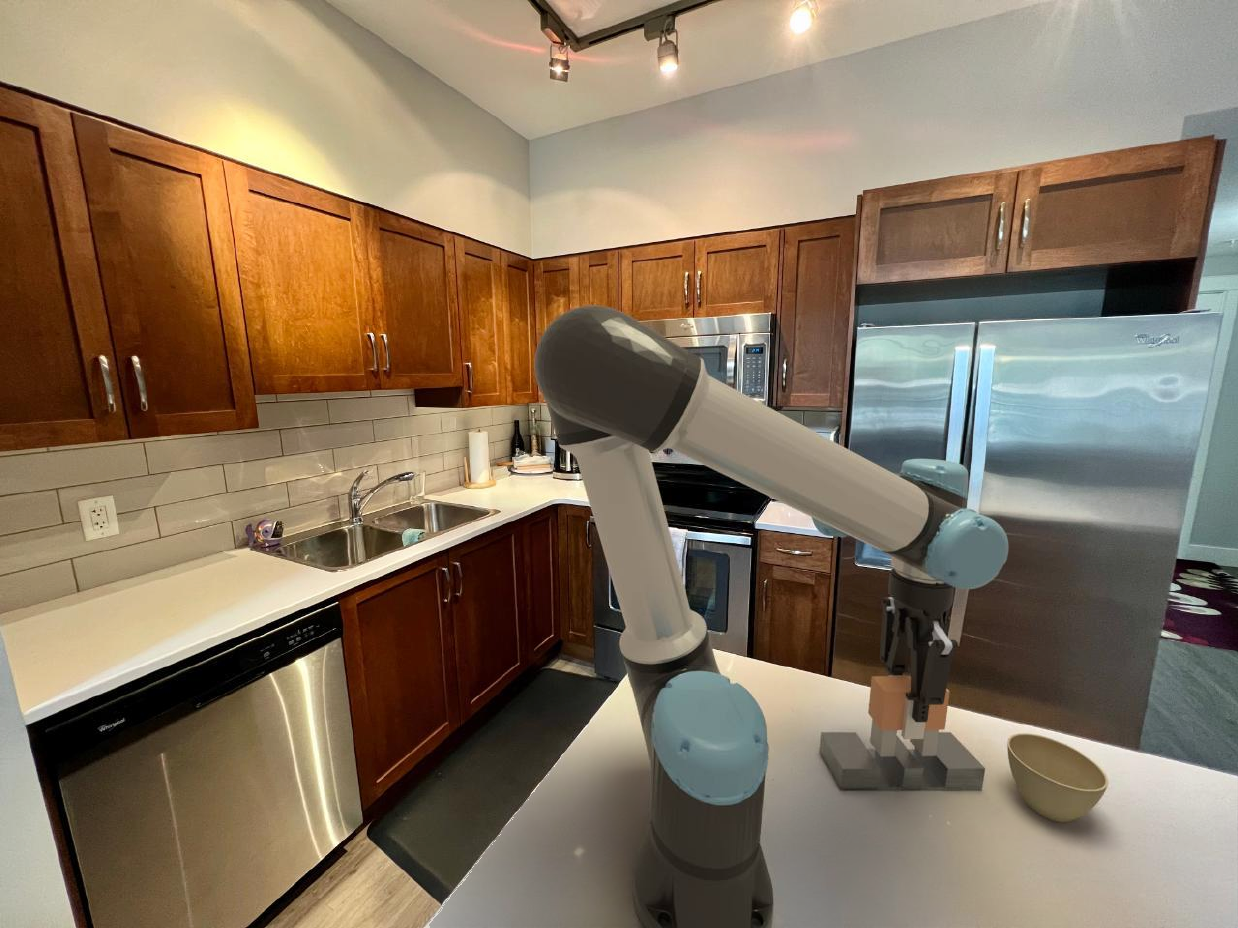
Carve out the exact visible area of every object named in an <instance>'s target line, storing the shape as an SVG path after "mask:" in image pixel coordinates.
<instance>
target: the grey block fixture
mask: <svg viewBox="0 0 1238 928" xmlns="http://www.w3.org/2000/svg"><path fill="white" fill-rule="evenodd" d="M818 753H819V755H820V757H821V759H822V760H823V762H824V763H825V765H826V766H825V767H826V768H828V771H829V773H830V774H831V776H832V778H833V780H834V781H835V783H836V785H837V787H838V789H839V791H842V792H843V791H845V792H846V791H850V792H851V791H861V792H862V791H863V792H864V791H865V792H866V791H982V790H983V784H984V779H985V772H986V767H985V766H984V765H983V764H982V763H981V762H980V761H979V760H978V759H977V758H976V757H975V756H974V755H973V754H972V752H970V751H969V749H967V748H966V746H964V745H963V743H962V742H961V741H960V740H959V739H958V738H957V737H956V736H955V735H954V734H953V733H952V732H950V731H941V732H940V731H939V735H938V742H937V750H936V756H922V755H921V754H920V753H919V752H918V750H917V749H916V748H915V747H914V746H913V749H908V747H907V746H906V745H905V744H904V742H903V741H902V739H901V738H900V737H899V736H898V735H897V736H896V745H895V754H894V756H880V755H879V754H878V752H877V751H876V750H875V749H868V748H867V747H866V745H865V744H864V742H863V741H862V739H861V738H860V736H859V735H858V734H857V732H856V731H855V732H854V731H851V732H849V731H845V732H843V731H840V732H839V731H837V732H836V731H832V732H831V731H830V732H829V731H828V732H827V731H826V732H825V731H821V732H820V742H819V751H818Z"/></svg>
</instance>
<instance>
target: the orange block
mask: <svg viewBox="0 0 1238 928" xmlns="http://www.w3.org/2000/svg"><path fill="white" fill-rule="evenodd" d="M905 693H911V675H907V676H888V675H886V676H885V675H883V676H881V675H879V676H871V683H870V693H869V701H868V709H867V710H868V712H867V713H868V715H869V716H870V717H871V719H872V720H871V728H870V729H871V730H870V739H869V742H870V744H871V745H872V747H873V748H874V750H876V751H877V752H878V754H879V755H880V756H894V754H895V745H896V736H898V731H902V724H903V716H904V708H905V700H906V694H905ZM949 699H950V690H949V689H948V688H946V693H945V699H944V703H943V704H942V705H929V713H928V720H927V722H926V723H925V731H924V738H923V739H909V742H910V743H911V744H912V745H913V748H914V747H915V748H916V749H917V750H918V752H919V753H920V754H921V755H922V756H936V750H937V742H938V735H939V732H940V731H941V730H943V731H944V730H945V729H946V722H947V714H948V707H949Z"/></svg>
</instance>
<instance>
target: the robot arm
mask: <svg viewBox="0 0 1238 928" xmlns="http://www.w3.org/2000/svg"><path fill="white" fill-rule="evenodd" d="M535 350H536V351H535V354H534V355H535V356H534V362H533V363H534V364H533V365H534V366H533V368H534V369H533V370H534V376H535V377H534V378H535V380H536V384H537V387H538V389H539V391H540V393H541V395H542V397H543V399H544V401H545V404H546V407H547V409H548V413H549V417H550V420H551V423H552V426H553V430H554V433H555V436H556V440H557V444H558V446H559V448H561V449H562V450H564V451H567V452H568V453H570V454H572V455H573V456H574V457H575V459H576V462H577V464H578V468H579V469H578V470H579V472H580V475H581V479H582V482H583V483H582V484H583V485H584V490H585V492H586V495H587V499H588V502H589V505H590V509H591V514H592V516H593V520H594V524H595V526H596V531H597V533H598V536H599V540H600V543H601V546H602V551H603V554H604V558H605V560H606V563H607V564H606V565H607V568H608V571H609V574H610V577H611V580H612V584H613V587H614V591H615V595H616V597H617V602H618V604H619V607H620V611H621V614H622V615H621V616H622V618H623V621H624V625H625V629H624V630H623V631H622V633H621V635H620V638H619V640H618V641H619V642H618V644H619V645H618V646H619V650H620V653H621V656H622V660H623V663H624V665H625V670H626V673H627V677H628V681H629V684H630V687H631V689H632V693H633V697H634V700H635V705H636V709H637V712H638V716H639V720H640V725H641V730H642V732H643V737H644V741H645V746H646V749H647V753H648V759H649V763H650V771H651V799H650V802H651V803H650V822H649V824H648V826H647V829H646V831H645V833H644V836H643V837H642V840H641V842H640V844H639V847H638V849H637V852H636V855H635V860H634V865H633V866H634V867H633V877H632V878H633V881H632V883H633V885H632V887H633V894H632V895H633V900H634V906H635V910H636V913H637V916H638V919H639V922H640V923H641V925H642V927H643V928H772V923H773V911H774V891H773V883H772V879H771V875H770V871H769V869H768V866H767V865H768V864H767V863H766V859H765V855H764V852H763V849H762V848H763V847H762V845H761V835H762V834H761V833H762V823H763V811H764V798H765V787H766V774H767V771H768V765H769V764H768V763H769V748H770V746H769V743H768V729H767V722H766V717H765V715H764V712H763V710H762V707H761V705H759V702H758V701H757V700H756V698H755V696H753V694H751V693H750V691H749V690H748V689H746V688H745V687H744V686H743V685H742V684H740V683H739V682H736V683H732V682H731V679H730V678H729V677H728V676H725V675H723V674H721V672H720V669H719V667H718V664H717V662H716V657H715V654H714V649H713V647H712V643H711V642H712V641H711V639H710V634H709V632H708V627H707V623H706V620H705V619H704V617H703V616H702V615H701V614H700V613H698V612H696V611H695V610H692V609H691V608H690V605H689V600H688V597H687V593H686V589H685V586H684V581H683V577H682V574H681V573H682V572H681V569H680V565H679V563H678V562H679V561H678V559H677V555H676V554H677V553H676V551H675V547H674V544H673V540H672V536H671V531H670V528H669V524H668V520H667V516H666V513H665V509H664V505H663V501H662V496H661V493H660V489H659V485H658V482H657V478H656V474H655V470H654V466H653V461H652V458H651V455H650V452H652V453H654V454H655V453H658V452H661V451H664V450H667V449H670V450H672V451H674V452H677V453H679V454H681V455H683V456H685V457H686V458H689V459H691V460H694V461H696V462H698V463H699V464H702V465H704V466H706V467H708V468H710V469H712V470H713V471H716V472H717V473H720V474H722V475H724V476H726V477H729V478H730V479H732V480H734V481H736V482H739V483H741V484H742V485H745V486H746V487H749V488H750V489H753V490H755V491H757V492H759V493H762V494H764V495H765V496H768V497H770V498H772V499H774V500H776V501H778V502H779V503H782V504H784V505H786V506H788V507H791V508H792V509H794V510H795V511H799V512H801V513H802V514H804V515H806V516H808V517H811V520H812V522H813V525H814V527H815V528H816V530H817V531H818V532H819V533H820V534H822V535H824V536H827V537H839V538H841V539H844V538H846V537H852V538H854V539H856V540H858V541H861V542H862V543H864V544H866V545H869V546H871V547H873V548H875V549H877V550H878V551H881V552H882V553H883V554H886V555H888V556H889V557H891V559H890V566H891V567H892V569H890V571H889V581H888V587H887V589H888V590H887V593H888V595H889V596H890V597H886V596H885V597H884V596H883V597H881V609H882V617H881V618H882V619H881V633H880V645H879V646H880V647H879V648H880V650H879V660H880V662H881V663H885V664H886V666H885V669H886V672H887V673H888V675H887V676H908V675H907V674H910V676H911V693H905V694H906V700H905V708H904V716H903V724H902V730H901V732H900V734H901V737H902V738H903V739H904V740H910V739H923V738H924V731H925V723H926V722H927V720H928V713H929V705H942V704H943V703H944V699H945V693H946V688H947V687H948V682H949V677H950V673H951V666H952V661H953V657H954V656H955V654H956V652H957V651H958V649H959V642H958V641H957V640H956V639H950V638H948V636H947V635H946V633H945V632H944V629H945V628H944V627H945V626H944V619H943V614H944V613H945V612H946V611H948V610H949V609H950V608H951V607H952V605H953V600H954V592H955V589H961V590H973V589H978V588H980V587H983V586H985V585H987V584H989V583H990V582H992V581H993V580H994V579H995V578H996V577H997V576H998V575H999V573H1000V571H1001V569H1002V568H1003V565H1004V564H1005V563H1006V562H1007V560H1008V555H1009V540H1008V536H1007V533H1006V532H1005V530H1004V528H1003V527H1002V526H1001V525H1000V524H999V523H998V522H997V521H996V520H994V519H993V518H990V517H988V516H985V515H983V514H980V513H979V512H977V511H975V510H973V509H972V508H967V501H968V499H969V496H968V495H969V494H968V491H969V489H968V488H969V471H968V469H967V468H966V467H965V465H963V464H962V463H959V462H955V461H950V460H949V461H948V460H942V459H935V458H934V459H933V458H932V459H931V458H912V459H907V460H904V462H903V463H902V465H901V470H900V472H898V473H899V475H897V474H895V473H893V472H891V471H890V470H888V469H886V468H885V467H882V466H880V465H878V464H877V463H875V462H873V461H872V460H871V461H870V460H868V459H867V458H865V457H863V456H861V455H859V454H858V453H855V452H854V451H852V450H850V449H848V448H846V447H844V446H843V445H841V444H839V443H836V442H835V441H833V440H831V439H830V438H827V437H825V436H823V435H822V434H820V433H818V432H816V431H814V430H813V429H810V428H808V427H807V426H805V425H803V424H801V423H799V422H798V421H795V420H794V419H792V418H790V417H788V416H786V415H784V414H782V413H781V412H779V411H777V410H775V409H773V408H771V407H769V406H767V405H766V404H763V403H761V401H758V400H756V399H754V398H753V397H750V396H749V395H747V394H744V392H741V391H739V390H737V389H735V388H734V387H731V386H729V385H727V384H726V383H724V382H722V381H720V380H719V379H717V378H714V377H713V376H712V375H709V374H708V371H707V369H706V364H705V361H704V359H703V358H702V357H700V356H698V355H696V354H694V353H692V352H690V351H689V350H687V349H685V348H684V347H681V346H680V345H678V344H677V343H675V342H674V341H672V340H671V339H668V338H667V337H665V336H663V335H662V334H661V333H658V332H657V331H655V330H654V329H652V328H650V327H649V326H647V325H645V324H643V323H642V322H641V321H638V320H637V319H635V318H634V317H632V316H630V315H629V314H627V313H625V312H623V311H620V310H618V309H615V308H613V307H609V306H603V305H597V304H593V305H582V306H579V307H573V308H572V309H571V308H570V310H567V311H565V312H563V313H562V314H560V315H558V317H555V319H554V320H552V322H551V323H550V324H549V325H548V326H547V327H546V329H545V330H544V331H543V333H542V335H541V336H540V338H539V341H538V343H537V346H536V349H535ZM909 665H910V667H909ZM905 674H906V675H905ZM947 689H948V688H947Z"/></svg>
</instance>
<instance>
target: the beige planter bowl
mask: <svg viewBox="0 0 1238 928" xmlns="http://www.w3.org/2000/svg"><path fill="white" fill-rule="evenodd" d="M1006 748H1007V759H1008V763H1009V764H1008V765H1009V768H1010V772H1011V775H1012V778H1013V780H1014V783H1015V786H1016V787H1017V790H1018V792H1019V795H1021V798H1022V800H1023V801H1024V802H1025V803H1026V805H1028V807H1029V808H1031V809H1032V811H1034V812H1036V813H1037V814H1039V815H1040V816H1042V817H1044V818H1047V819H1049V820H1051V821H1054V822H1058V823H1068V822H1071V821H1075V820H1077V819H1078V818H1080V817H1082V816H1084V815H1085V814H1087V813H1088V812H1089V811H1091V810H1092V809H1093V808H1094V807H1095V806H1096V805H1097V804H1098V803H1099V801H1100V800H1101V799H1102V797H1103V796H1104V794H1105V793H1106V790H1107V788H1108V786H1109V779H1108V776H1107V774H1106V773H1105V771H1104V770H1103V769H1102V767H1100V766H1099V765H1098V764H1097V763H1096V762H1095V761H1094V760H1092V759H1091V758H1090V757H1088V756H1087V755H1085V754H1084V753H1082V752H1081V751H1079V750H1077V749H1075V748H1074V747H1072V746H1070V745H1068V744H1067V743H1064V742H1061V741H1058V740H1057V739H1054V738H1051V737H1048V736H1044V735H1041V734H1036V733H1028V732H1027V733H1025V732H1024V733H1023V732H1022V733H1015V734H1013V735H1011V736H1009V738H1008V739H1007V746H1006Z"/></svg>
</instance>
